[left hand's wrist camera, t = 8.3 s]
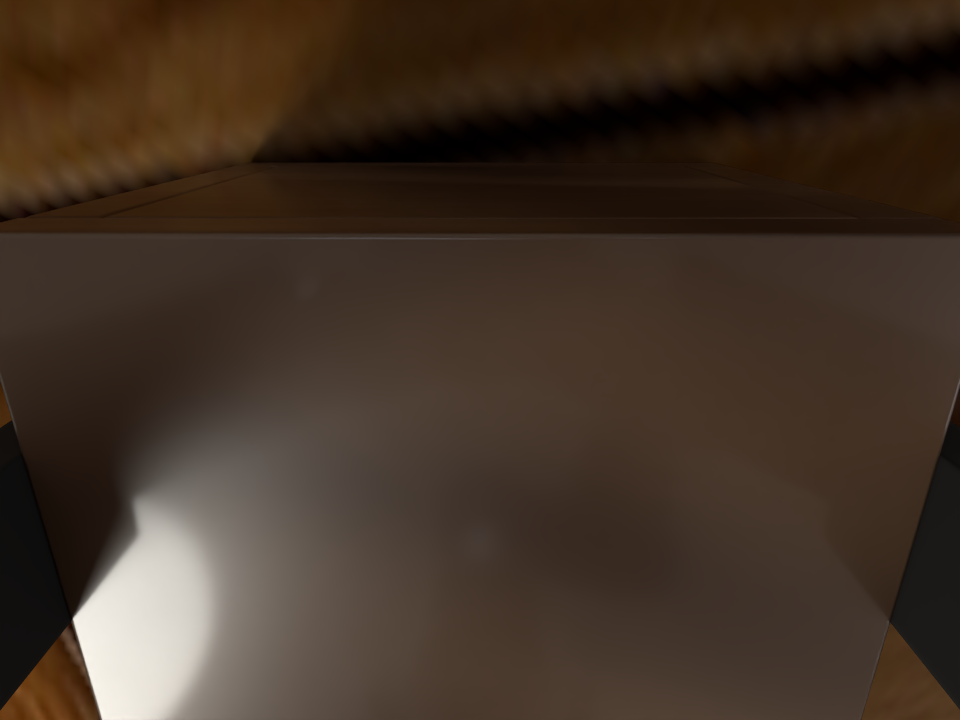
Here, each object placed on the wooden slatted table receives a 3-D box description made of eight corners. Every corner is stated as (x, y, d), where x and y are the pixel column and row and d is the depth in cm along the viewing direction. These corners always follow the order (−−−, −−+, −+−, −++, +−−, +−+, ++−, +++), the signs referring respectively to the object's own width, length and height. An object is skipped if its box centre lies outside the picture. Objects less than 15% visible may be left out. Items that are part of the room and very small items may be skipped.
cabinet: (640, 743, 23) (738, 1138, 14) (320, 743, 23) (221, 1135, 14) (714, 162, 16) (1008, 233, 7) (247, 162, 16) (-48, 232, 7)
